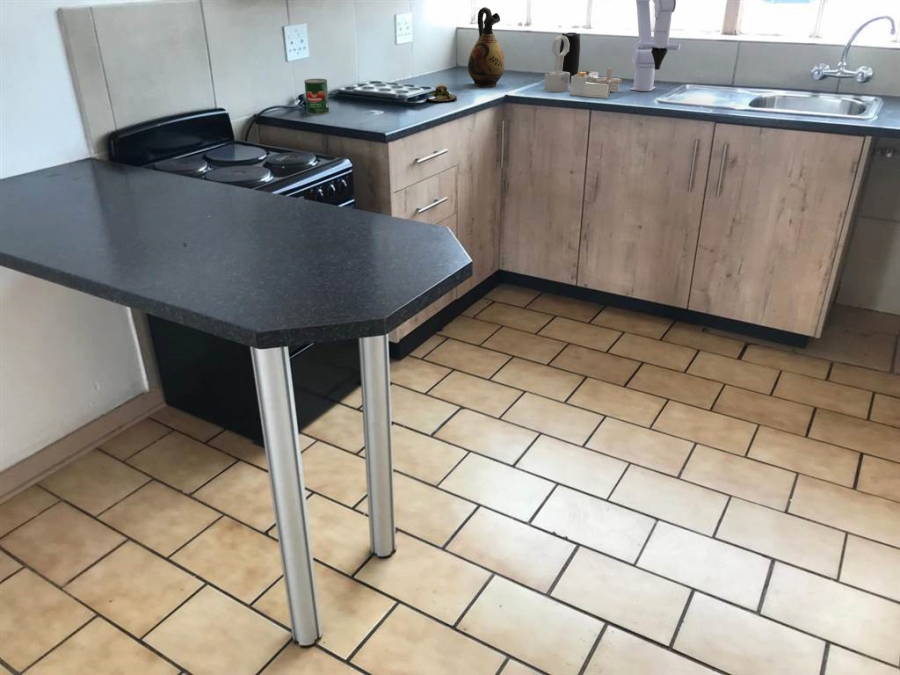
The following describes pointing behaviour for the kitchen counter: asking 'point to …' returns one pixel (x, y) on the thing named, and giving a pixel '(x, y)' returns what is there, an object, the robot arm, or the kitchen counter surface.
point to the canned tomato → (316, 96)
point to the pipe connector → (608, 80)
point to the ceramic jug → (486, 53)
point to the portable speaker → (571, 54)
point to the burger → (442, 94)
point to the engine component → (558, 69)
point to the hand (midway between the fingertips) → (657, 69)
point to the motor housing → (590, 85)
